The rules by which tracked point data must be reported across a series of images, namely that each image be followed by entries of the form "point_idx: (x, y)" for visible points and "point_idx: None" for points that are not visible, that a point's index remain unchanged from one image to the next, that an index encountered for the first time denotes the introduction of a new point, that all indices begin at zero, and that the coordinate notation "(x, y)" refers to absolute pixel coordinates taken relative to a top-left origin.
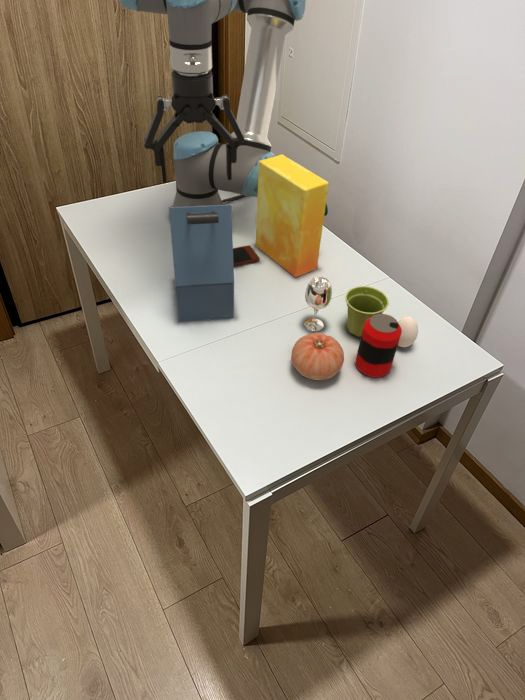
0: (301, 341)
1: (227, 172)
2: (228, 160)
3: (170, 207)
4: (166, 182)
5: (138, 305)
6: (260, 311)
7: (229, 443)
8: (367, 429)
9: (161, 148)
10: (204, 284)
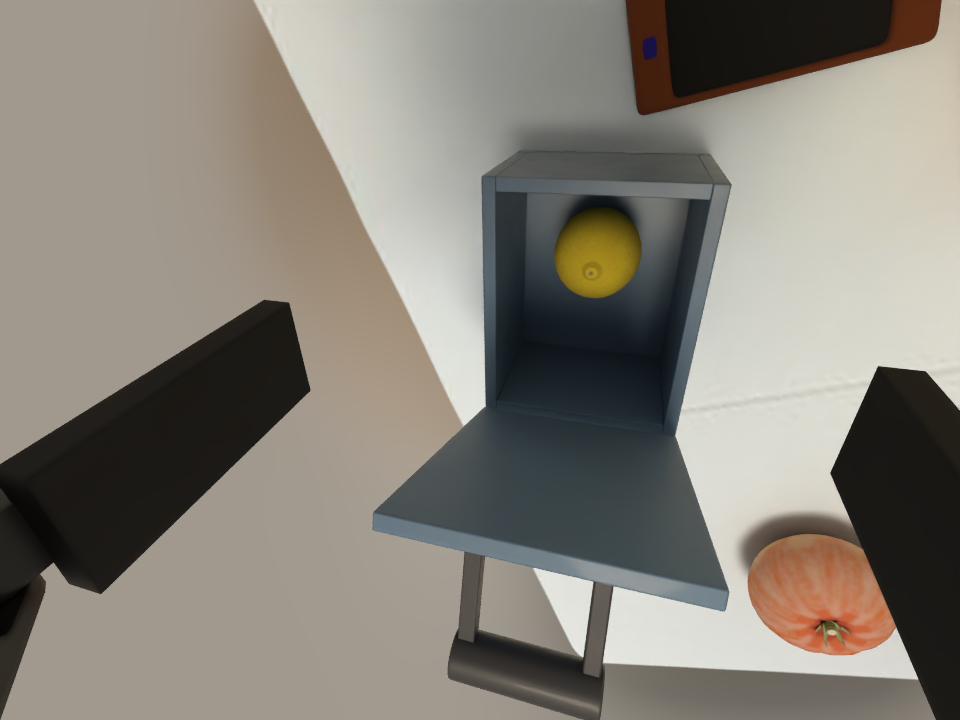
0: (789, 603)
1: (864, 486)
2: (925, 678)
3: (379, 528)
4: (308, 389)
5: (413, 257)
6: (764, 353)
7: (571, 609)
8: (823, 673)
9: (34, 517)
10: (574, 417)
